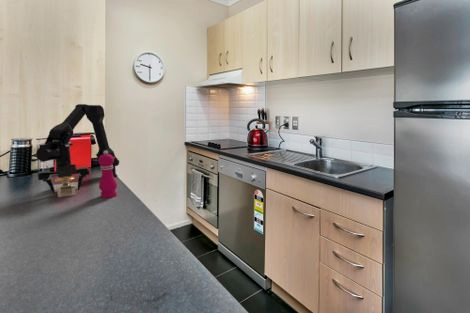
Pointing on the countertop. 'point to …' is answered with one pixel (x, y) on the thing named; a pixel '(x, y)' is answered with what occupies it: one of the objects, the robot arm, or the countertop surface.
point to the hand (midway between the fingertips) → (66, 191)
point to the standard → (65, 182)
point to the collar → (66, 191)
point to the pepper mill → (107, 176)
